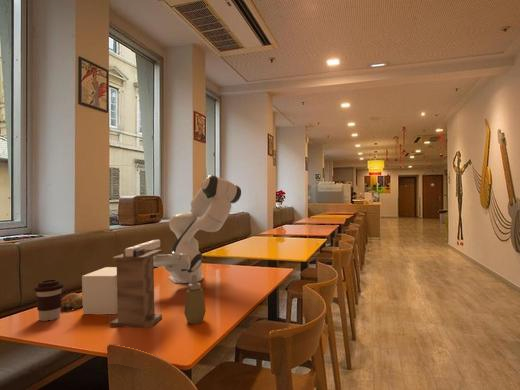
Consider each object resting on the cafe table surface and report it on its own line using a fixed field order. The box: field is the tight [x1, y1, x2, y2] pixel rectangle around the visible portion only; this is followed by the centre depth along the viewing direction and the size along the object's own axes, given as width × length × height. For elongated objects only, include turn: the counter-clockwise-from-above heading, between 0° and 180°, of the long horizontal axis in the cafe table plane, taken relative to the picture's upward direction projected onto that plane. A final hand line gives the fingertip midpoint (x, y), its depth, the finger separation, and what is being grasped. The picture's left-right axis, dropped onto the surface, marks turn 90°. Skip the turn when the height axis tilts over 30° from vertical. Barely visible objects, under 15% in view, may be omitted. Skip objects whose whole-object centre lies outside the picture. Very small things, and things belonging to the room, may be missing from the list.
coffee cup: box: [33, 279, 64, 322], centre depth 140 cm, size 10×10×15 cm
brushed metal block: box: [124, 239, 161, 257], centre depth 141 cm, size 26×3×3 cm, turn 174°
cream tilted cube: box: [81, 266, 118, 315], centre depth 152 cm, size 18×14×16 cm
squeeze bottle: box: [183, 274, 207, 325], centre depth 132 cm, size 8×8×18 cm
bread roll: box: [60, 292, 83, 311], centre depth 154 cm, size 10×10×8 cm
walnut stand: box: [109, 249, 163, 328], centre depth 136 cm, size 18×16×28 cm
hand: (163, 254), depth 162 cm, fingers open, 8 cm apart
